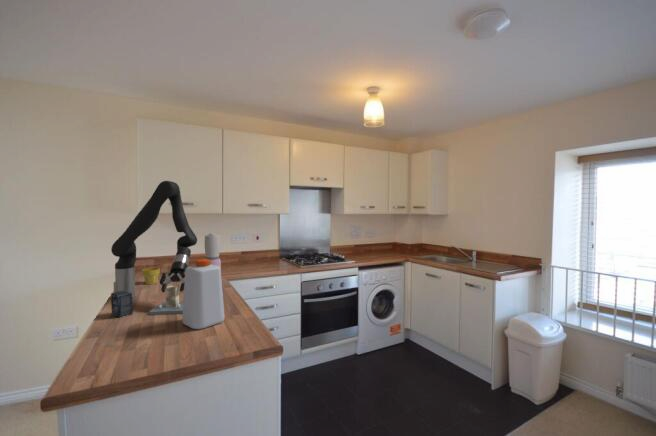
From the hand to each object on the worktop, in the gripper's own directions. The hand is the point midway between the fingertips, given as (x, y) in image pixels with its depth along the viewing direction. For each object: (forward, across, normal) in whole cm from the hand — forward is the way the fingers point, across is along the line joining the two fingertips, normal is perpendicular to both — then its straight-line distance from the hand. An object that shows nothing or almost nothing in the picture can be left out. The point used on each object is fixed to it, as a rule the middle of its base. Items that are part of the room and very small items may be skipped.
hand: (172, 291), depth 151 cm
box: (+10, -21, +3) cm, 24 cm away
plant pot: (-35, -36, +48) cm, 70 cm away
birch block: (+5, 0, +6) cm, 8 cm away
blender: (-53, -1, +66) cm, 84 cm away
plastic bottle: (+21, +21, -8) cm, 31 cm away
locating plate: (+6, 0, +7) cm, 9 cm away
